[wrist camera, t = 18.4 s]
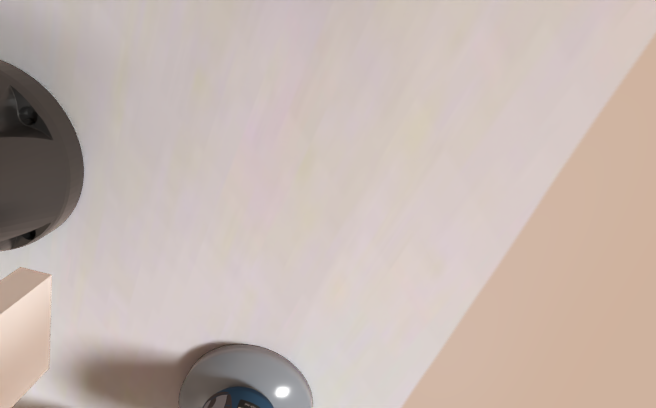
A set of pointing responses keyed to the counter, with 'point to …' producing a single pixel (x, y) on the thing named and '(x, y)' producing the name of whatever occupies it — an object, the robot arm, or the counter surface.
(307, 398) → the disc
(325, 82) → the counter surface
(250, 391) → the soda can
